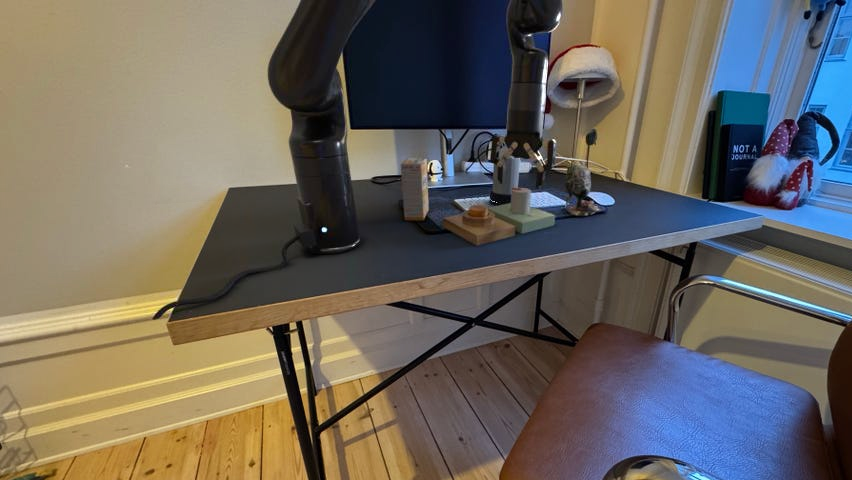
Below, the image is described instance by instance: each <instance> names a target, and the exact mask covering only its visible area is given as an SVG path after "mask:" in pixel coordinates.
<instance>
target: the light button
mask: <svg viewBox="0 0 852 480" xmlns="http://www.w3.org/2000/svg"><path fill="white" fill-rule="evenodd" d="M488 208H489V207H488V206H487V205H482V204H475V205H474V204H473V205H470V206H469V207H468V210H469V216H472V217H485V216H488Z"/></svg>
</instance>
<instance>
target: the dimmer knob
mask: <svg viewBox="0 0 852 480" xmlns="http://www.w3.org/2000/svg"><path fill="white" fill-rule="evenodd" d="M531 197H532V190H531V189H530V188H526V187H518V188H512V194H511V212H512V213H516V214H526V213H529V210H530V206H531Z"/></svg>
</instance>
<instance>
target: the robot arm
mask: <svg viewBox="0 0 852 480" xmlns="http://www.w3.org/2000/svg"><path fill="white" fill-rule="evenodd" d="M376 1H377V0H300V1H299V3H298V5H297V7H296V9H295V11H294V13H293V15H292V17H291V19H290V21H289V23H288V25H286V28H285V30H284V32H283V33H282V35H281V37H280V39H279V41H278V42H277V44H276V46H275V48H274V50H273V52H272V54H271V56H270V58H269V61H268V64H267V83H268V86H269V88H270V91H271V93H272V95H273V97H274V98H275V99H276V101H277V102H278V103H279V104H280V105H282V106H283V107H284V108H285V109H287V110H289V111H290V116H291V131H290V135H289V136H288V149H289V153H290V156H291V157H290V158H291V162H292V166H293V167H292V168H293V172H294V176H295V177H294V178H295V183H296V186H297V191H298V196H297V198H296V199H297V203H298V209H299V213H300V218H301V222H302V223H300V224H294V225H293V227H294V231H295V236H294V237H293V238H291V239H290V240H288V241H287V242H286V243H285V244H284V245H283V247H282V249H281V256H282V261H281V262H280V263H279V264H278V265H276V266H272V267H264V268H252V269H247V270H244V271H241V272H239V273H237V274H236V275H234V276H233V277H232V278H230V279H229V281H228V282H227V283H226V285H225V286H224V287H223V288H222V289H221V290H219V291H218V292H215V293H213V294H211V295H207V296H203V297H198V298H189V299H181V300H175V301H173V302H169V303H167V304H165V305H164V306H162V307H161V308H160V309H159V310H157V312H156V313H155V314H154V315H153V317H152V319H151V320H152V321H155V320H158V319H160V318H162V317H163V316H164V314H166V312H168V311H170V310H171V309H174V308H177V307H181V306H187V305H197V304H203V303H207V302H208V303H209V302H212V301H214V300H217V299H218V298H220V297H222V296H224V295H226V294H227V293H228V292H229V291H230V289H231V288H232V287H233V285H234V284H235V283H236V282H237V281H238V280H239V279H241V278H243V277H245V276H249V275H253V274H260V273H261V274H262V273H266V272H272V271H276V270H279V269H282V268H284V267H285V266H286V265H287V264H288V261H289V259H288V258H289V257H288V255H287V250H288V249H289V247H291V245H293V244H294V243H295V242H297V241H298V243H299V245H300V246H301V247H302V248H303V249H304V248H309V250H310V251H311V252H312V253H313V255H315V256H316V255H321V254H323V255H325V254H326V255H327V254H328V255H330V254H339V253H345V252H348V251H351V250H353V249H355V248H357V247H358V246H360V244H361V237H360V232H359V226H358V220H357V219H358V218H357V211H356V204H355V197H354V188H353V182H352V174H351V168H350V161H349V154H348V145H347V144H348V143H347V142H348V141H347V139H348V123H347V121H348V120H347V112H346V103H345V94H344V87H343V82H342V78H341V75H340V72H339V70H338V68H337V67H338V64H339V62H340V59H341V56H342V54H343V51H344V48H345V46H346V44H347V42H348V40H349V38H350V36H351V34H352V32H353V31H354V30H355V28H356V27H357V25H358V24H359V23H360V21H362V19H363V18H364V16H365V15H366V14H367V13H368V12H369V11H370V9H371V8H372V6H373V5H374V4H375V2H376ZM506 9H507V10H506V18H505V19H506V28H507V36H508V41H509V47H510V53H511V60H512V62H511V79H510V87H509V91H508V92H509V93H508V104H507V112H508V120H507V119H506V128H507V134H506V133H505V135H503V136H502V135H501V134H494V135H492V139H491V146H490V147H491V148H490V157H489V162H490V163H491V164H493V165H494V164H496V165H497V166H498V175H497V179H498V181H499V183H500V184H504V183H505V180H506V166H505V164H506V163H507V162H508V161H509V160H510V159H511V158H512V156H513V157H514V158H519V159H524V160H529V159H530V160H531V162H532V163H533V164H534V165H535V167H536V169H537V170H538V171H537V172H536V177H535V189H538V190H539V189H541V188H542V187H543V186H544V184H545V178H546V171H551V170H552V169H554V168H555V166H556V154H557V140H556V139H555V138H553V139H543V138H544V137H543V128H544V118H545V108H546V103H547V102H546V100H547V99H546V98H547V91H546V90H547V89H546V87H547V76H548V68H549V67H548V65H549V55H548V53H547V52H546V50H543V49H542V48H537V47H536V46H535V42H534V37H533V36H534V35H540V34H548V33H551V32H553V31H554V30H556V29H557V27H558V26H559V24H560V23H561V20H562V18H563V12H564V11H563V10H564V9H563V0H509V2H508V6H507V8H506ZM503 144H504V145H505V144H506V146H507V148H508V150H507V151H506V152H505V154H504V155H503V156H502V158H501V159H500V158H499V153H500V149H501V147H502V146H503ZM542 147H544V150H545V151H547V154H546V163H545V161H544V160H543V157H542V155H541V152H540V151H539V150H540V149H541V148H542ZM177 301H178V303H177ZM176 304H177V305H176Z"/></svg>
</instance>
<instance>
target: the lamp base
mask: <svg viewBox="0 0 852 480" xmlns="http://www.w3.org/2000/svg"><path fill="white" fill-rule="evenodd" d="M442 228H444V229H447V230H448V231H450V232H451V233H453V234H455V235H457V236H459V237H460V238H462V239H464V240H465V241H467V242H469V243H471V244H472V245H475V246H480V245H484V244H488V243H492V242H496V241H499V240H504V239H507V238H511V237H515V236H516V231H515V226H514V225H512V224H509V223H507V222H505V221H502V220H500V219H498V218H495V214H494V212H492V211H489V210H488V216H485V217H472V216H469V209H467V210H464V211H462V212H461V213H460V214H459V213H458V214H455V215H450V216H444V217H442Z"/></svg>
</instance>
